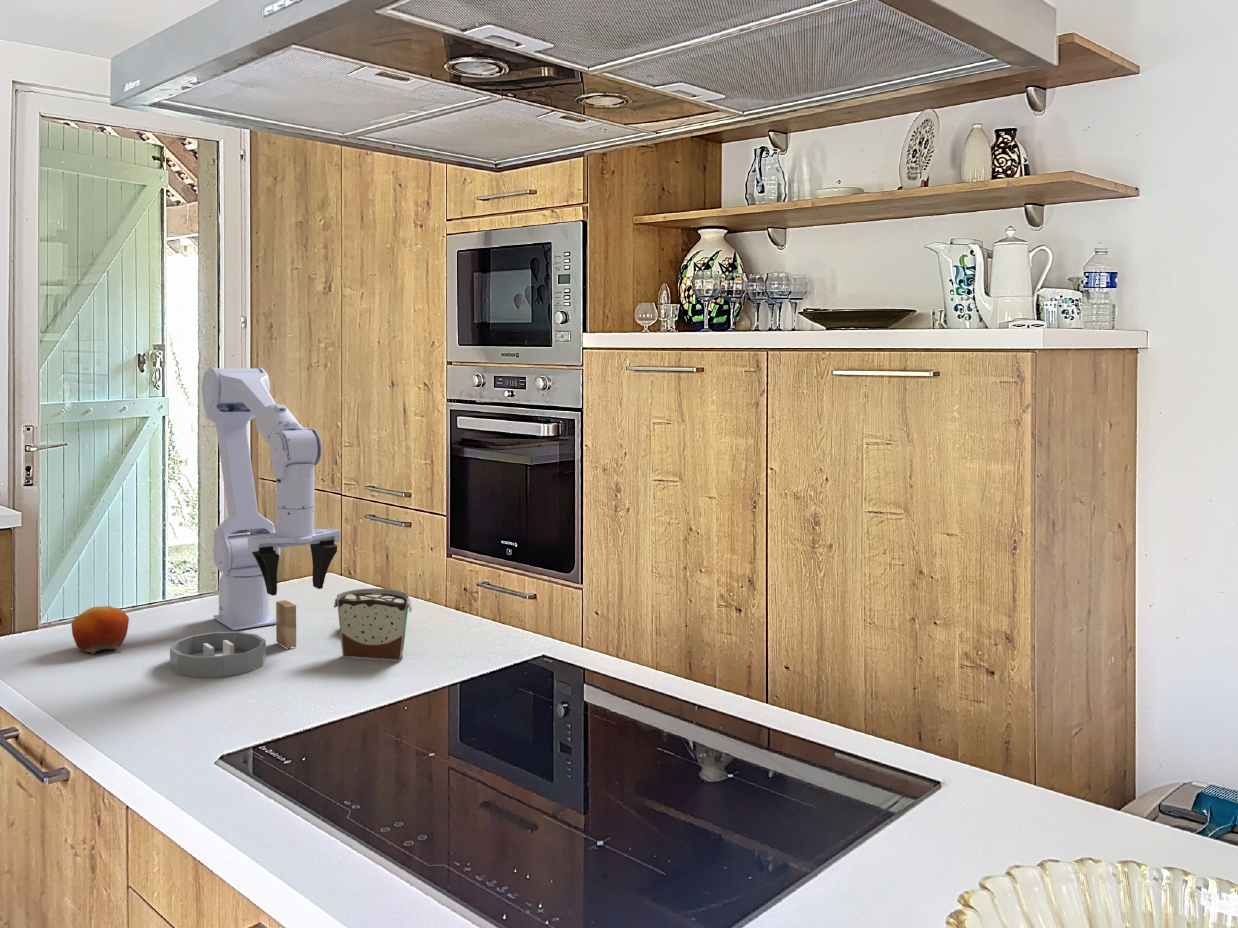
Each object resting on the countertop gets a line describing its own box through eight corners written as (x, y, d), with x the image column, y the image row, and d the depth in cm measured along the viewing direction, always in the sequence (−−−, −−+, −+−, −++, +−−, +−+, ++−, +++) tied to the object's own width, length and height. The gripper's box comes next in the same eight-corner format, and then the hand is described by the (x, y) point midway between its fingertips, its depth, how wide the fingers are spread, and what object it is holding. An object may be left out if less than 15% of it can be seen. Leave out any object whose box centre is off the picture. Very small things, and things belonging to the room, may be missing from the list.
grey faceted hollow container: (159, 659, 161) (159, 640, 160) (244, 645, 169) (244, 627, 169) (189, 683, 151) (189, 663, 151) (278, 666, 160) (278, 647, 159)
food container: (421, 650, 170) (422, 590, 169) (409, 661, 164) (410, 599, 163) (347, 645, 172) (347, 585, 170) (333, 656, 165) (333, 594, 164)
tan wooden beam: (276, 643, 171) (276, 601, 170) (285, 641, 172) (285, 599, 171) (286, 649, 168) (286, 606, 167) (296, 647, 169) (296, 605, 168)
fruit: (84, 653, 158) (75, 603, 160) (72, 668, 163) (64, 619, 166) (140, 644, 163) (131, 596, 165) (127, 659, 169) (118, 611, 171)
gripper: (260, 514, 157) (260, 602, 159) (349, 506, 167) (349, 590, 168) (242, 506, 162) (242, 592, 164) (329, 499, 172) (329, 580, 174)
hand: (295, 590), depth 167 cm, fingers open, 7 cm apart
